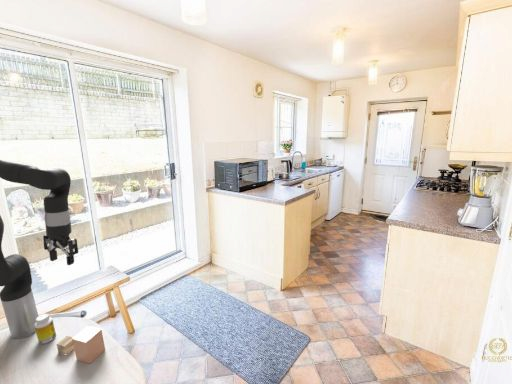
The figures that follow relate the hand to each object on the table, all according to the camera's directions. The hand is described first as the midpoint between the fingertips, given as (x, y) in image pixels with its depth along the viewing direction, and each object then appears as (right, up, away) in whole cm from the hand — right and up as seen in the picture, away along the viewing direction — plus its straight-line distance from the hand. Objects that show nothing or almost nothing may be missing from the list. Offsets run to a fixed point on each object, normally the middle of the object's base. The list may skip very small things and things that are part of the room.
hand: (62, 262), depth 98 cm
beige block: (+3, -33, -1) cm, 33 cm away
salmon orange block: (+14, -33, -4) cm, 36 cm away
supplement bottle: (-9, -32, +4) cm, 34 cm away
